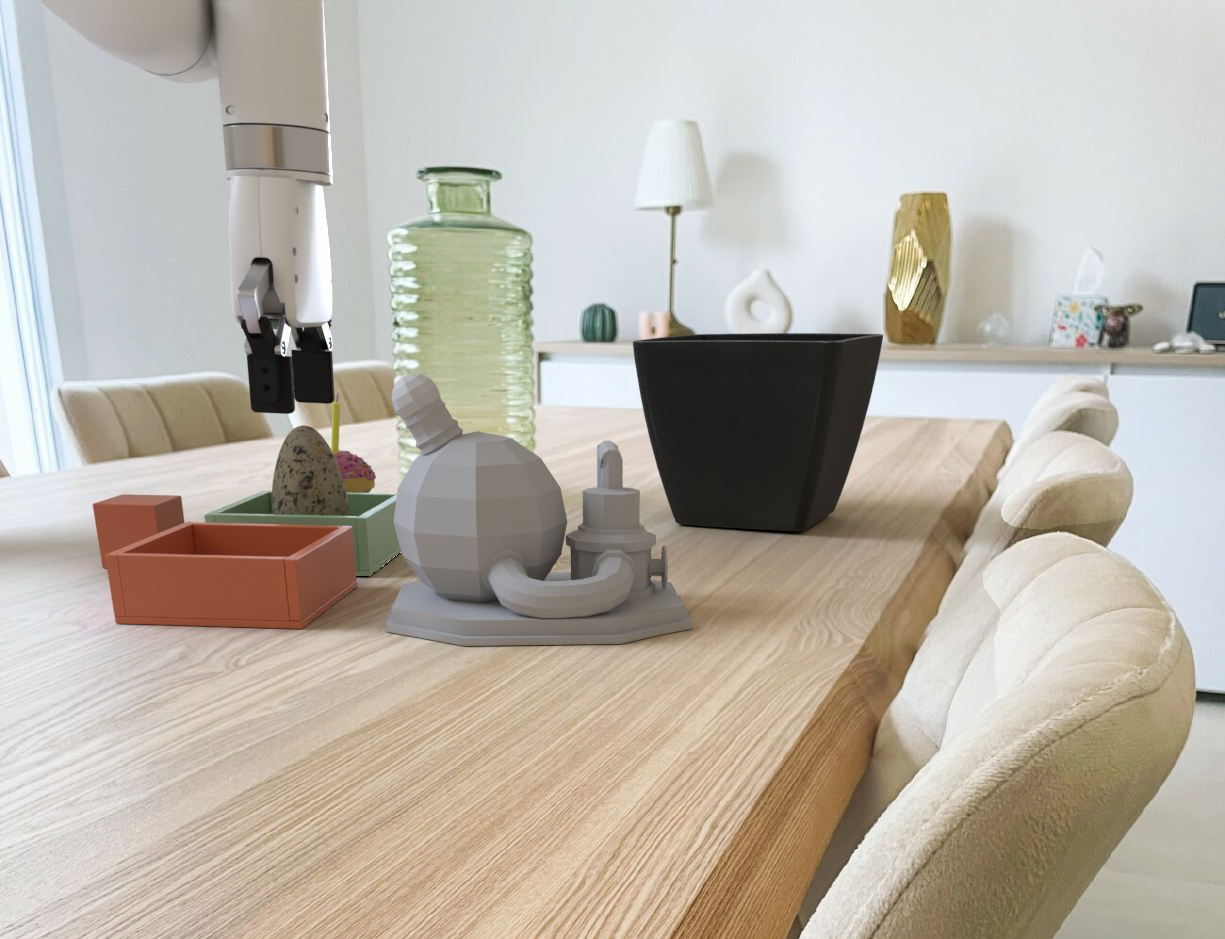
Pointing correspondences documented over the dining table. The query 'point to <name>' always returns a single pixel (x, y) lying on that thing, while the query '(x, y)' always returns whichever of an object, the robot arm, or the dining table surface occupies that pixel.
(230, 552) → the terracotta bin
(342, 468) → the donut with candle
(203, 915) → the dining table surface
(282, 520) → the sage bin
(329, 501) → the decorative egg
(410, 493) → the grey distillation still model
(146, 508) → the terracotta block
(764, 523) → the flower pot
